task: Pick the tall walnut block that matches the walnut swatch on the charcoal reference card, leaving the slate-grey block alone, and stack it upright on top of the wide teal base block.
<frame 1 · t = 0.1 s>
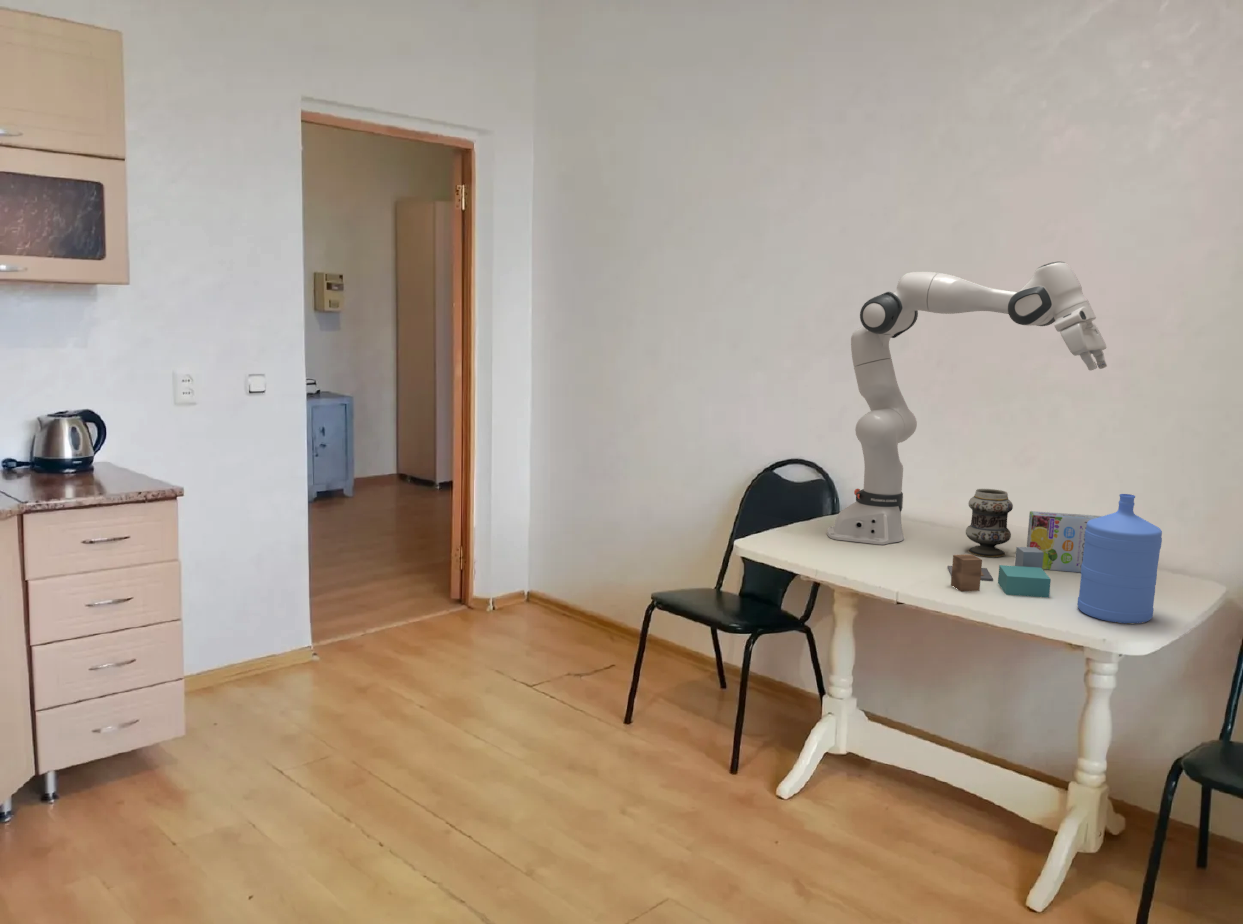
hand: (1098, 368, 244), 54 cm above the table, tool tilted 30°, fingers open, 8 cm apart
walnut block: (965, 588, 240), on the table
snack box: (1068, 570, 258), on the table
slate grey block: (1027, 579, 248), on the table
water jug: (1113, 614, 222), on the table
apothecary jar: (986, 553, 273), on the table
reference card: (969, 574, 252), on the table
teal base block: (1022, 591, 239), on the table
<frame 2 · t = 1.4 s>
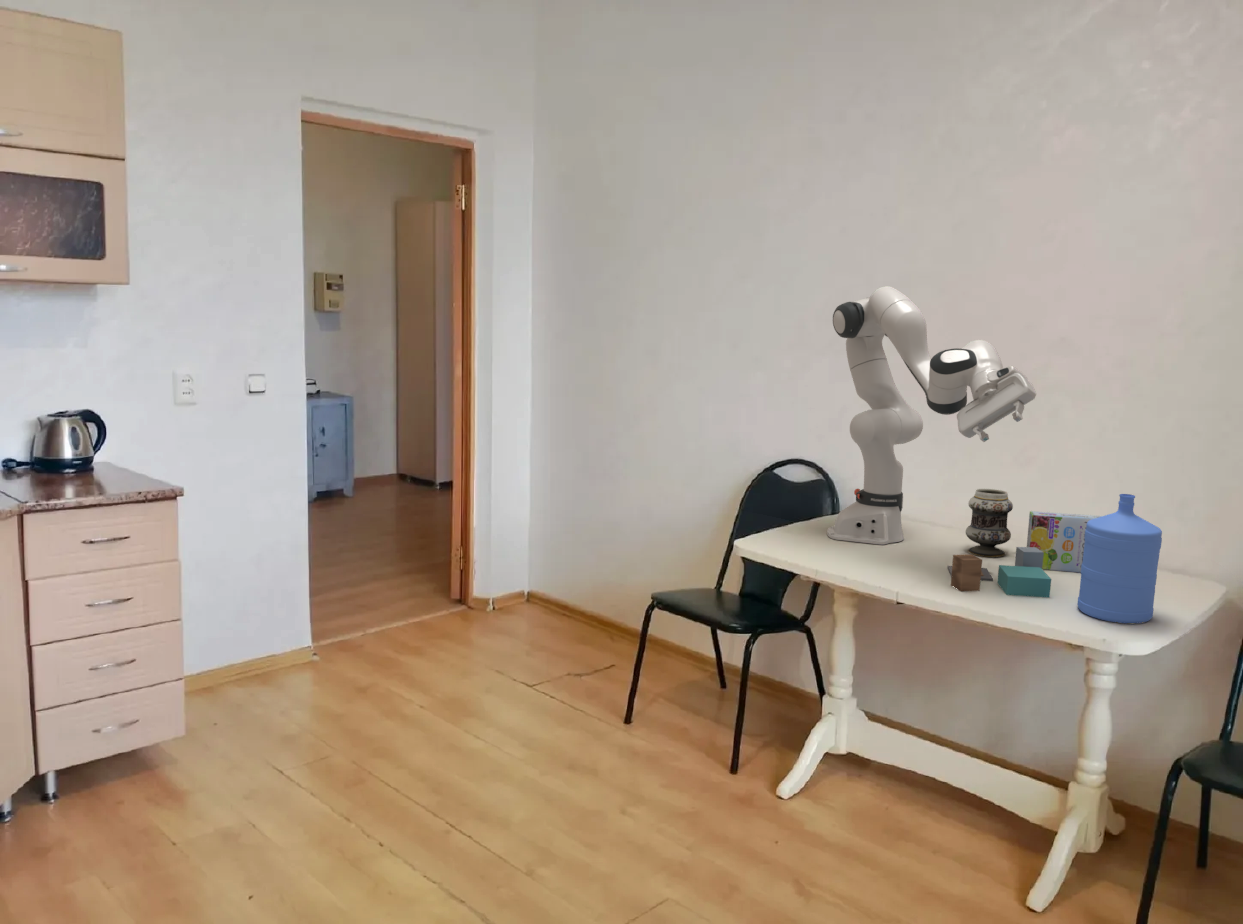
hand: (1001, 429, 232), 40 cm above the table, tool tilted 50°, fingers open, 8 cm apart
nothing on the table moved.
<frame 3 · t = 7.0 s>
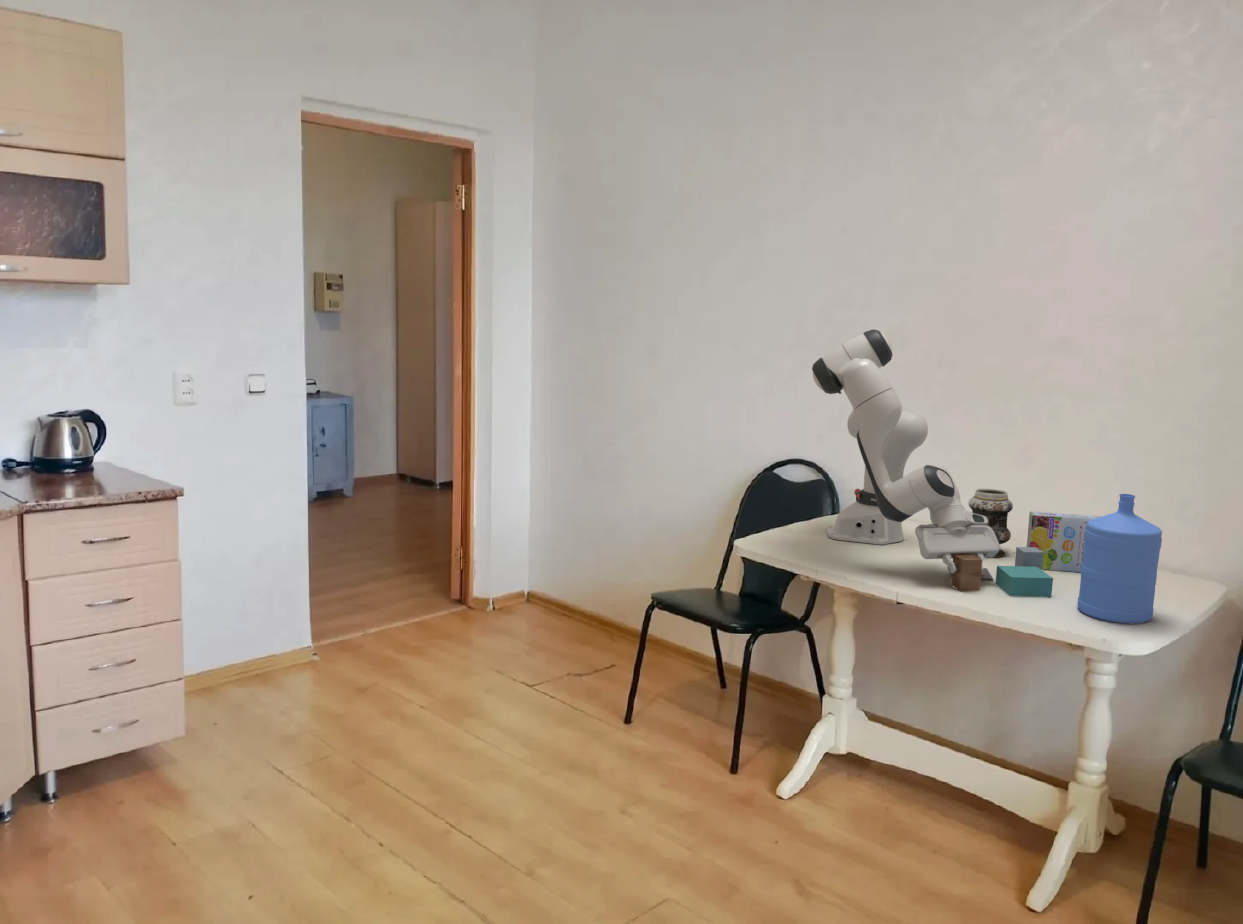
hand: (967, 571, 238), 4 cm above the table, tool tilted 45°, fingers closed on walnut block, 5 cm apart
walnut block: (965, 588, 240), on the table, touching gripper
everything else where it was.
when the fingers open (11 cm above the table, at t = 12.3 s): walnut block drops 2 cm, resting on teal base block.
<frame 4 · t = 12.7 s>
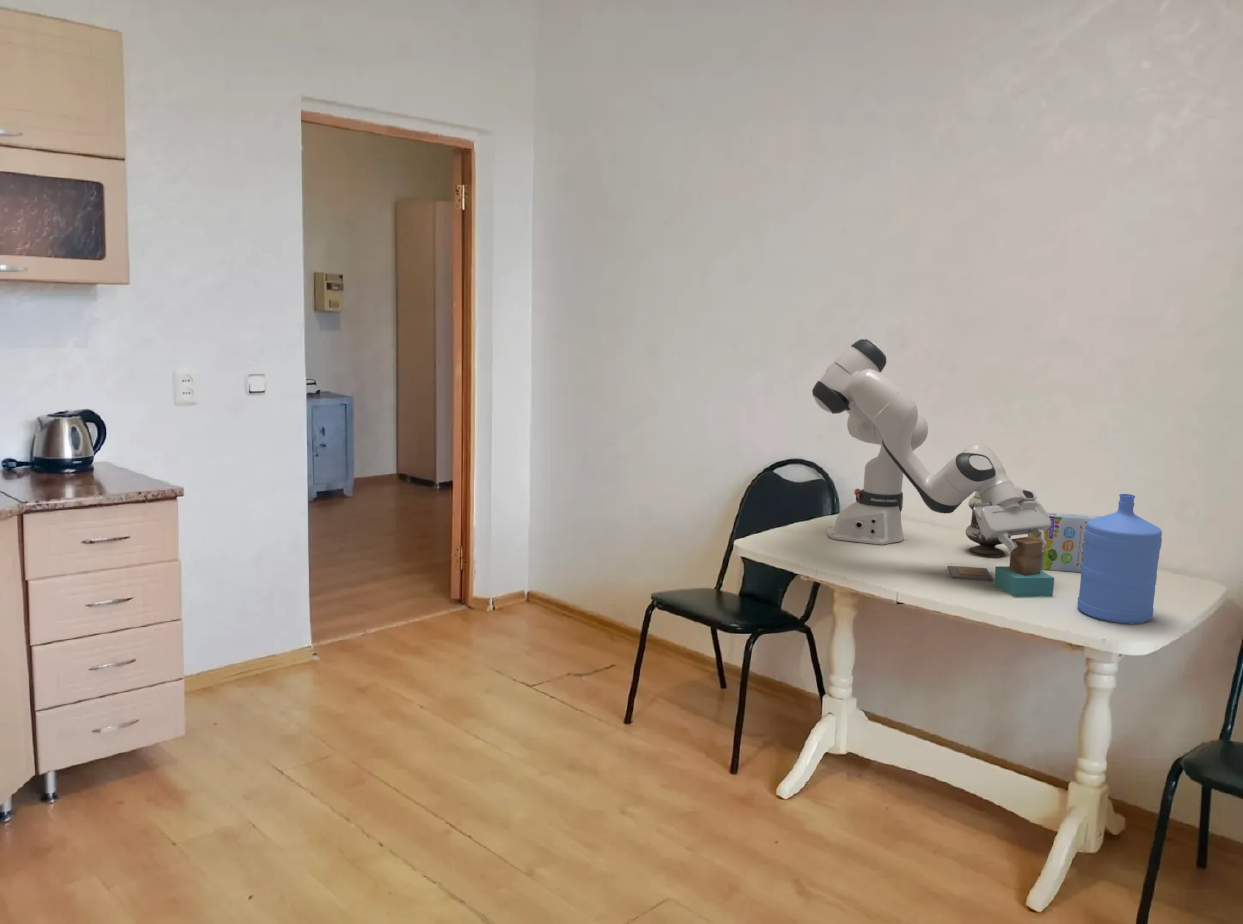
hand: (1028, 548, 236), 11 cm above the table, tool tilted 45°, fingers open, 8 cm apart
walnut block: (1024, 571, 238), point 5 cm above the table, touching teal base block
teal base block: (1022, 591, 239), on the table, touching walnut block
everything else where it was.
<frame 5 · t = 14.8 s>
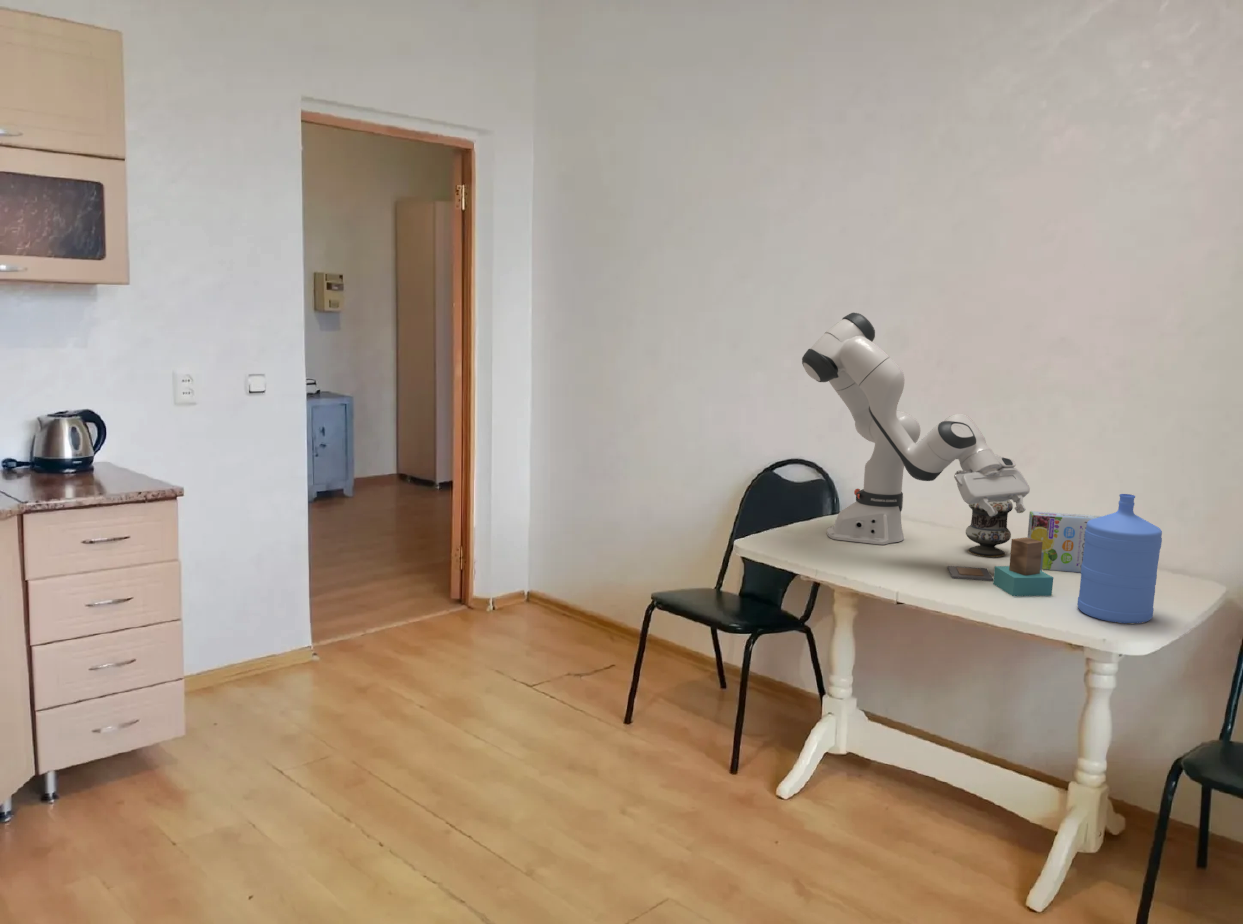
hand: (1008, 513, 243), 18 cm above the table, tool tilted 45°, fingers open, 8 cm apart
walnut block: (1024, 571, 238), point 5 cm above the table
teal base block: (1021, 591, 239), on the table
everything else where it was.
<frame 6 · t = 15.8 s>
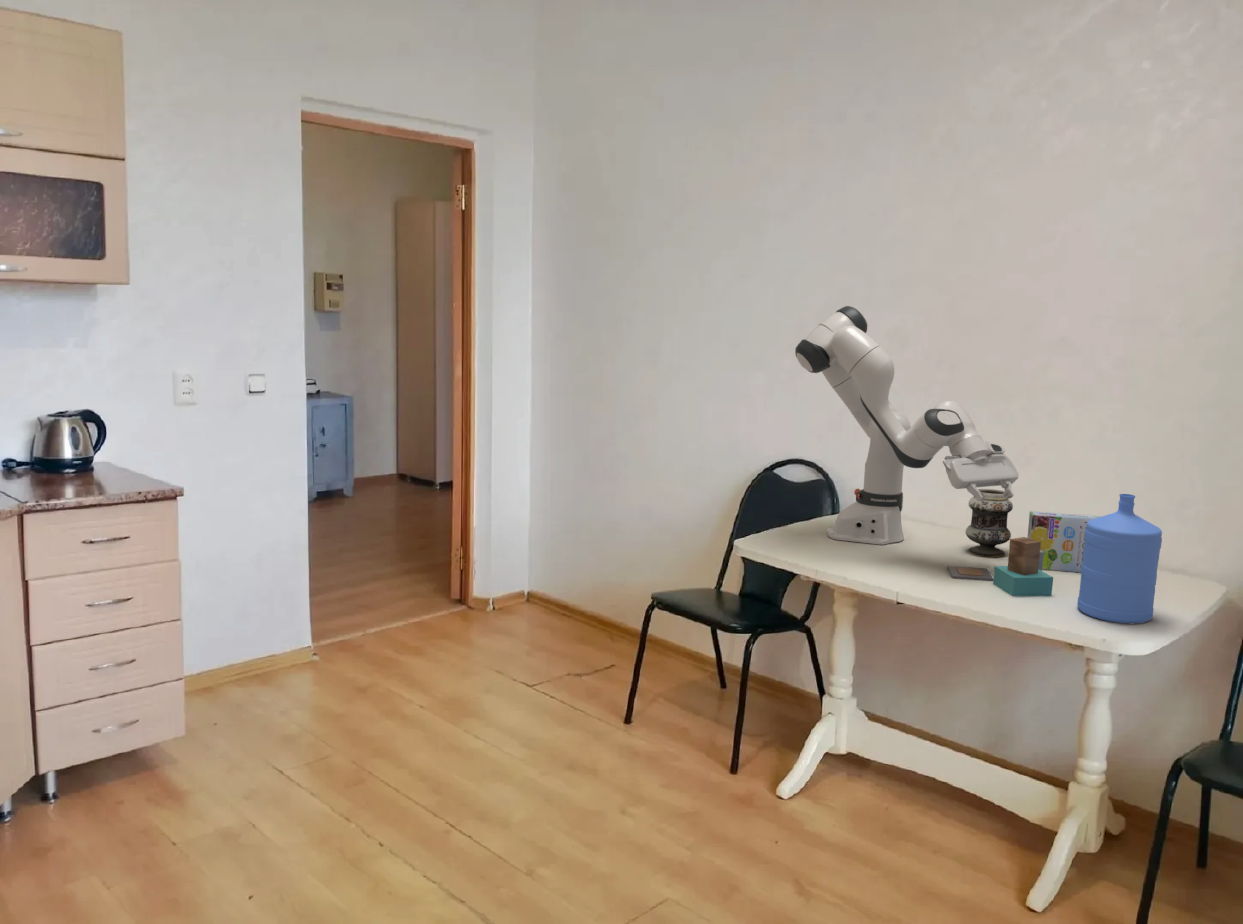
hand: (996, 498, 245), 21 cm above the table, tool tilted 45°, fingers open, 8 cm apart
walnut block: (1022, 571, 238), point 5 cm above the table, touching teal base block
teal base block: (1021, 590, 239), on the table, touching walnut block
everything else where it was.
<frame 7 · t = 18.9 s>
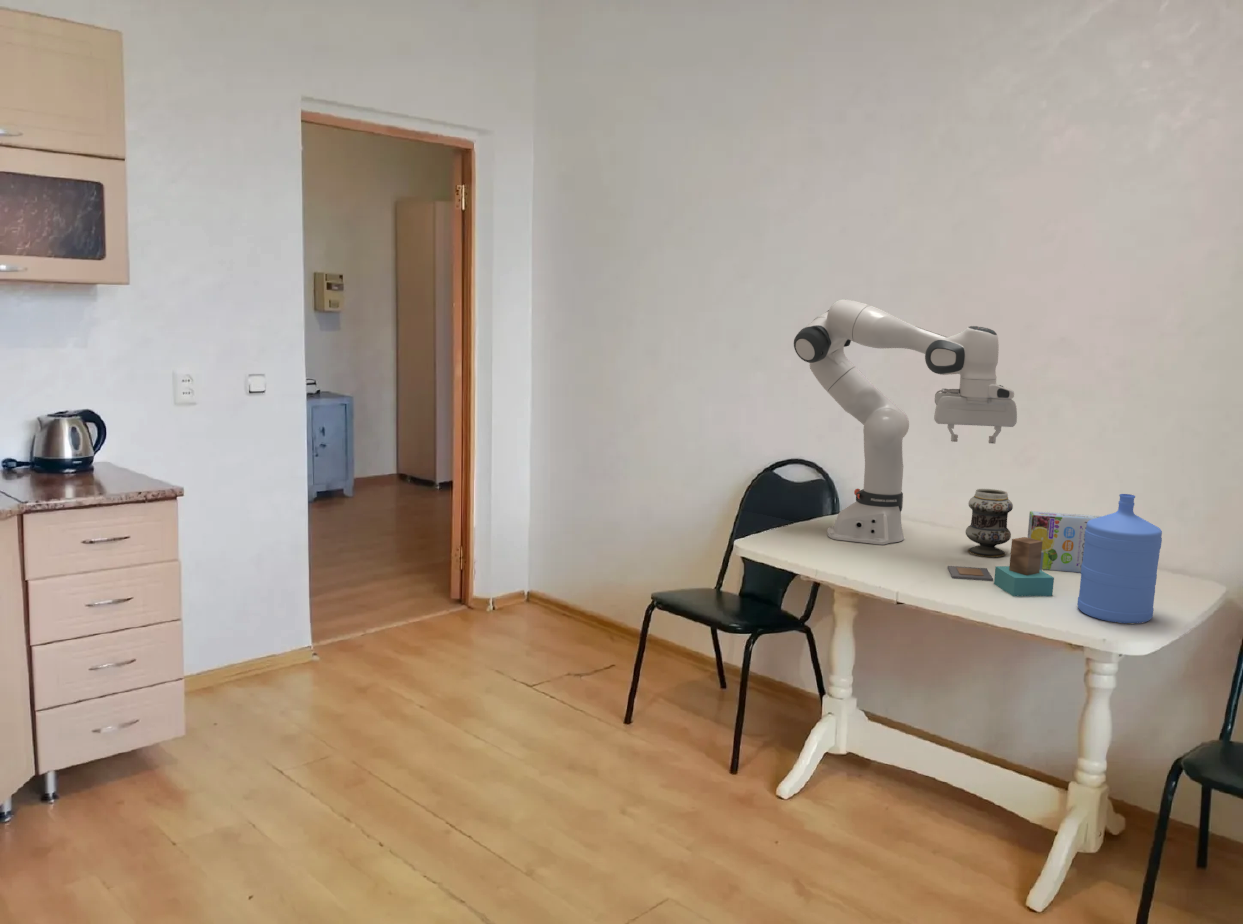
hand: (972, 442, 252), 34 cm above the table, tool pointing down, fingers open, 8 cm apart
nothing on the table moved.
at the end: walnut block 0.2 cm off-centre on the teal base block, point 5.0 cm above the teal base block's base; walnut block tilted 0°; the gripper is holding nothing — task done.
